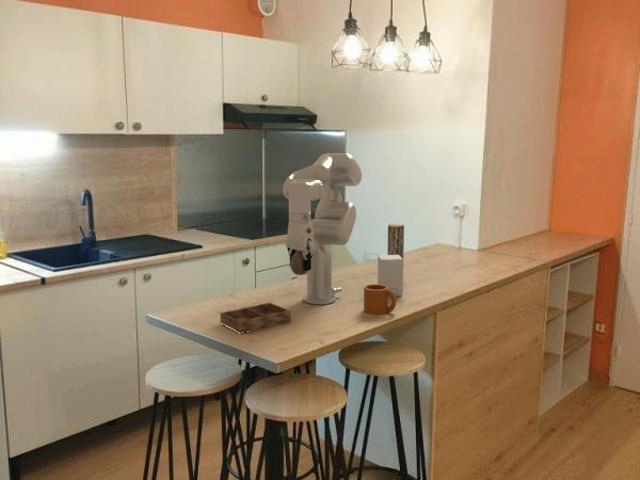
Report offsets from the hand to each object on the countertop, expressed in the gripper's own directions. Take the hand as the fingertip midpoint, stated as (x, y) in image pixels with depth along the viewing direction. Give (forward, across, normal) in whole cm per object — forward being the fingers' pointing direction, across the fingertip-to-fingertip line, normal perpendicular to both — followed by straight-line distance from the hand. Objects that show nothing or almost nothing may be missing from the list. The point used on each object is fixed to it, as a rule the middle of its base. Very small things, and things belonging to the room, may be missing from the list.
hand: (300, 268), depth 212 cm
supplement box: (+18, +1, -46) cm, 49 cm away
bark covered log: (+18, +13, -61) cm, 65 cm away
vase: (+2, 0, 0) cm, 2 cm away
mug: (+18, -13, -26) cm, 34 cm away
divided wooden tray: (+18, +4, +16) cm, 24 cm away
